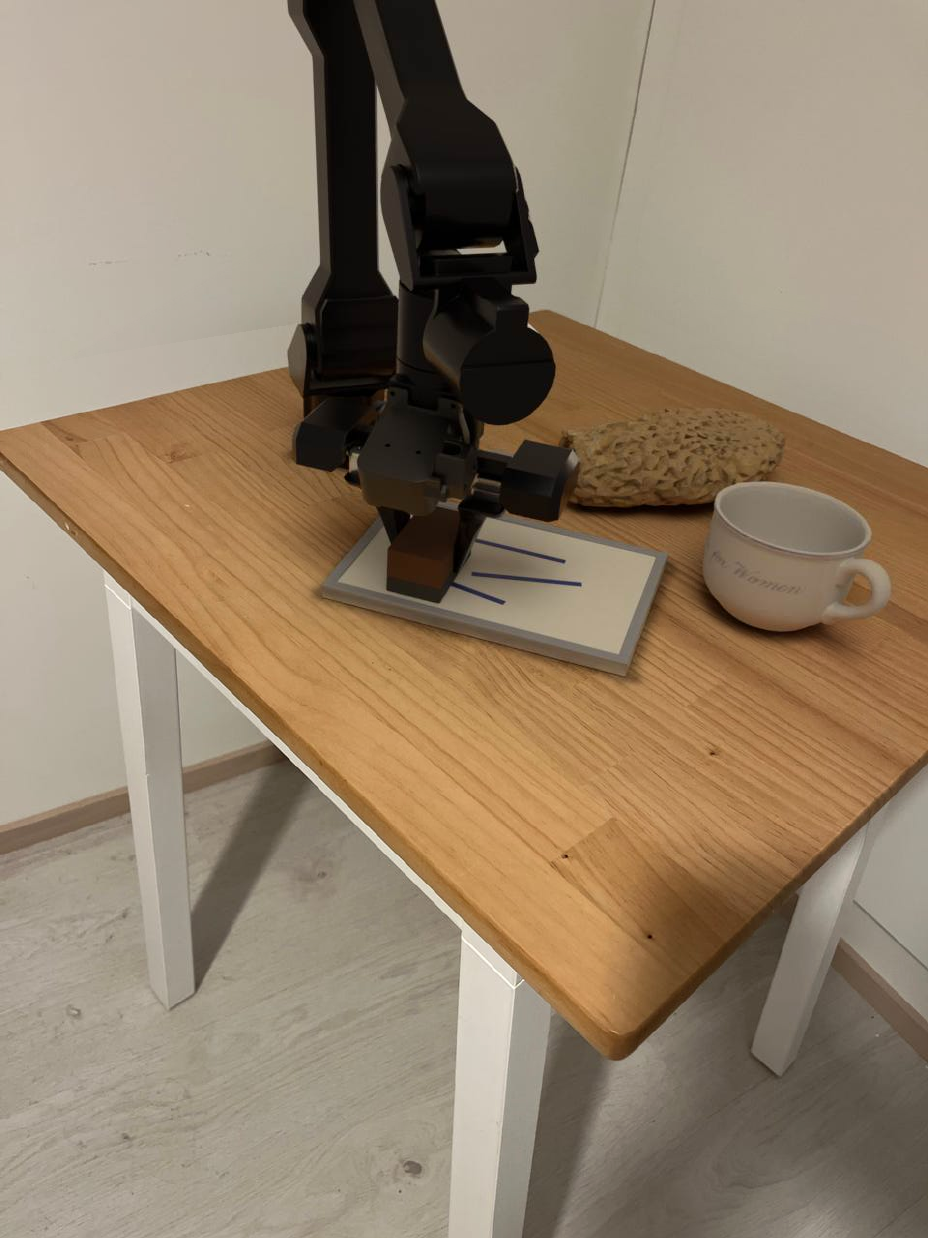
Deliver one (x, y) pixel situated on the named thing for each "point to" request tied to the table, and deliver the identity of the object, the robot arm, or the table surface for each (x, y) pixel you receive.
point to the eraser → (424, 556)
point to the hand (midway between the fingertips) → (428, 563)
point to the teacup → (788, 557)
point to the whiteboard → (523, 590)
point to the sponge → (672, 457)
